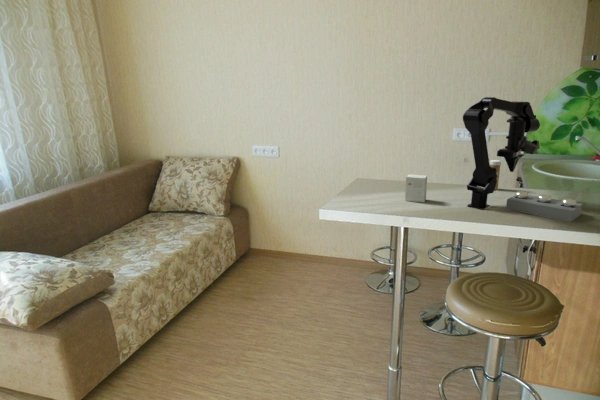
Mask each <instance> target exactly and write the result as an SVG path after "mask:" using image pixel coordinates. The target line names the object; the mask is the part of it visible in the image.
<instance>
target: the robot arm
mask: <svg viewBox="0 0 600 400" xmlns="http://www.w3.org/2000/svg"><path fill="white" fill-rule="evenodd" d="M495 110H496V111H501V112H505V113H506V114H507V115H508V116H510V117H509V118H508V119H506V123H509V127H508V135H506V137H505V138H506V139H507V144H506V145H505V146H504V148H500V149H498V150H496V151H497V152H496V157H502V158H504V160H505V162H506V164H507V167H508V170H509V172H510V173H514V171H515V170H516V167H517V165H518V163H519V161H520V159H521V158H523V157H524V156H525V154H522V152H524V153H526V154H529V155H533V154H536V153H537V151H538V150H539V149H541V148H540V141H539V140H537V139H534V140H533V141H531V140H527V139H528V138H527V136H526V135H525V134H526V133H534V132H537V131H538V130H539V128H540V127H541V124H540V121H539V119H538V118H537V115H535V113H534V110H533V108H532V105H531V103H530V102H529V101H516V100H515V101H513V100H512V101H510V100H505V99H501V98H498V97H497V98H496V97H495V96H493V97H491V96H489V97H488V96H487V97H483V98H481V100H479V101H478V102H477V103H474V104H473V105H471V106H470V107H469V108H468V109H467V110H465V111H464V113H463V114H462V121H463V125H464V128H465V129H466V130H467V131H468V133H469V134H470V139H471V145H472V150H473V152H472V153H473V158H474V159H473V160H474V164H475V168H474V170H473V172H472V178H471V179H470V180H469V182H468V183H467V185H466V189H467V190H468V191H471V201H470V203H469V204H467V205H466V206H467V207H470V208H475V209H480V210H485V209H486V208H489V207H490V204H488V203H487V202H488V195H490V194H494V192H495V190H494V189H495V186H496V183H497V177H498V176H497V173H496V168H493V167H491V166H490V159H489V153H488V152H489V151H488V150H489V149H488V143H487V137H486V130H487V128H488V126H489V123H490V122H489V120H490V119H491V118H492V117H493V115H494V111H495Z"/></svg>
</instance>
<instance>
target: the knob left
mask: <svg viewBox="0 0 600 400" xmlns="http://www.w3.org/2000/svg"><path fill="white" fill-rule="evenodd" d="M528 195H529V192H528V191H527V192H526V191H518V190H517V191H515V193H514V196H515V197H516V198H519V199H524V200H525V199H526V198H528Z"/></svg>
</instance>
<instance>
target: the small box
mask: <svg viewBox="0 0 600 400" xmlns="http://www.w3.org/2000/svg"><path fill="white" fill-rule="evenodd" d="M427 184H428V175H426V174H423V175H422V174H409V173H408V175H406V177H405V193H404V195H405V196H404V201H405V202H415V203H425V201H426V199H427V188H428V187H427Z"/></svg>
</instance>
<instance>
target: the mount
mask: <svg viewBox="0 0 600 400" xmlns="http://www.w3.org/2000/svg"><path fill="white" fill-rule="evenodd" d="M537 199H538V195H530V194H528V198H526V199H525V200H524V199H519V198H516V197H515V195H513V196H511V197H509V198H507V200H506V206H505V209H506V210H509V211H514V212H519V213H524V214H528V215H529V214H530V215H535V216H540V217H543V218H544V217H545V218H550V219H555V220H560V221H566V222H572V221H574V220H575V219H577V218H578V217H579V216H581V215H582V209H583V203H579V202H576V206H575V207H572V208H570V207H565V206H563V205H561V203H562V200H561V199H555V198H551V202H548V203H542V202H540V201H538V200H537Z"/></svg>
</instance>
